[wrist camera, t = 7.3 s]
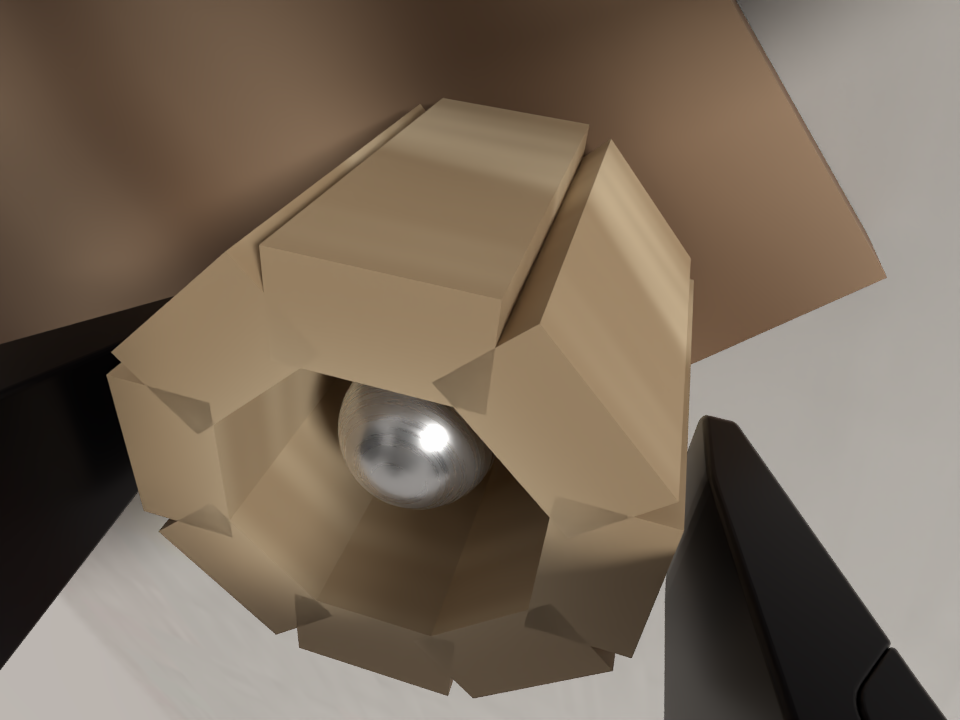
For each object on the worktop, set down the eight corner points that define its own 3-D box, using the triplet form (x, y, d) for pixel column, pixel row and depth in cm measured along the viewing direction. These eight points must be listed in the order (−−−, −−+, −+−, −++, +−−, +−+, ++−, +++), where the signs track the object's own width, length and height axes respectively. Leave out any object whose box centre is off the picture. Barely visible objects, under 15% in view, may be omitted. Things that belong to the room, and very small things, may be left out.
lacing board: (255, -856, 7) (160, -1011, 6) (868, 235, 11) (886, 277, 10) (-169, 127, 16) (-240, 146, 15) (260, 527, 20) (231, 568, 19)
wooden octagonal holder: (527, 12, 9) (377, 116, 5) (756, 356, 11) (783, 636, 7) (256, 243, 12) (31, 421, 8) (468, 478, 14) (371, 718, 10)
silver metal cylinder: (508, 201, 11) (393, 382, 7) (580, 298, 12) (512, 515, 8) (419, 262, 12) (275, 450, 8) (489, 347, 13) (388, 562, 9)
